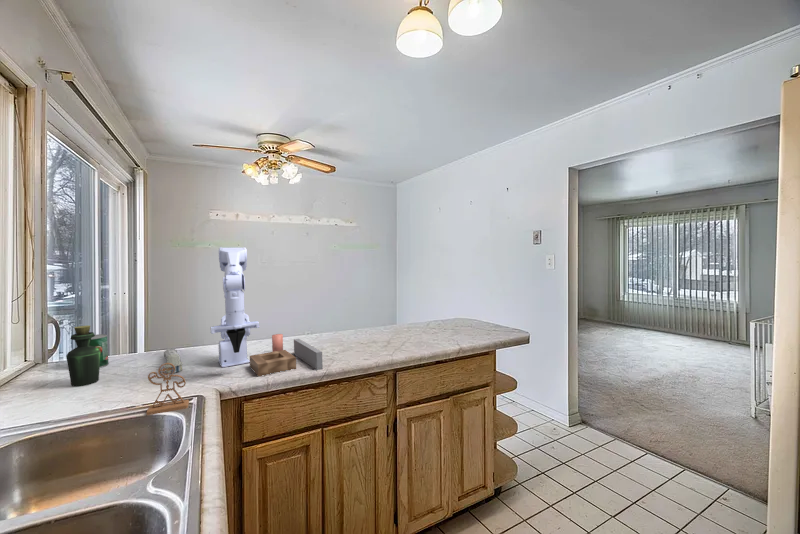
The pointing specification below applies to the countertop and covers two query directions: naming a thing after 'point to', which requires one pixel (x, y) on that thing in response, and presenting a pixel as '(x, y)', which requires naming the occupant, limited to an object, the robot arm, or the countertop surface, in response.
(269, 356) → the block
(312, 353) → the wall
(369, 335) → the countertop surface
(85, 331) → the potion bottle
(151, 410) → the gingerbread man figurine
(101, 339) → the canned tomato
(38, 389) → the countertop surface
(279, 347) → the dowel
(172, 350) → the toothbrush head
